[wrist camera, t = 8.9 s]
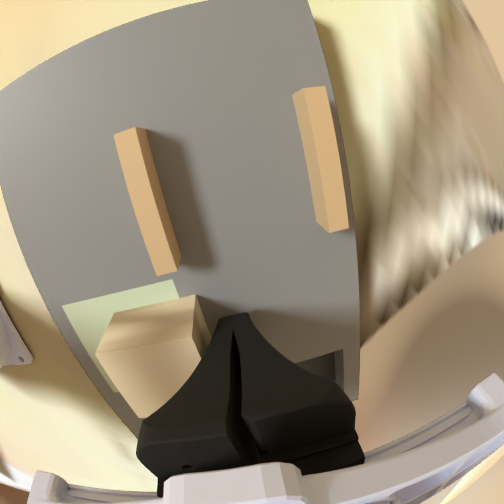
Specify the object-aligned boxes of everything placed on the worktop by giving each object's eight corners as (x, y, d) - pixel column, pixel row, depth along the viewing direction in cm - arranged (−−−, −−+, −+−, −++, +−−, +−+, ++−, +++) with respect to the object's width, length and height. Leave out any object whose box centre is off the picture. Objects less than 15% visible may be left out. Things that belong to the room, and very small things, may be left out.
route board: (144, 422, 18) (139, 459, 15) (8, 103, 10) (-33, 100, 6) (347, 379, 18) (366, 415, 15) (292, 8, 10) (315, -25, 7)
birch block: (147, 374, 14) (139, 418, 11) (114, 312, 12) (94, 354, 9) (220, 361, 14) (223, 407, 11) (195, 294, 12) (191, 336, 10)
